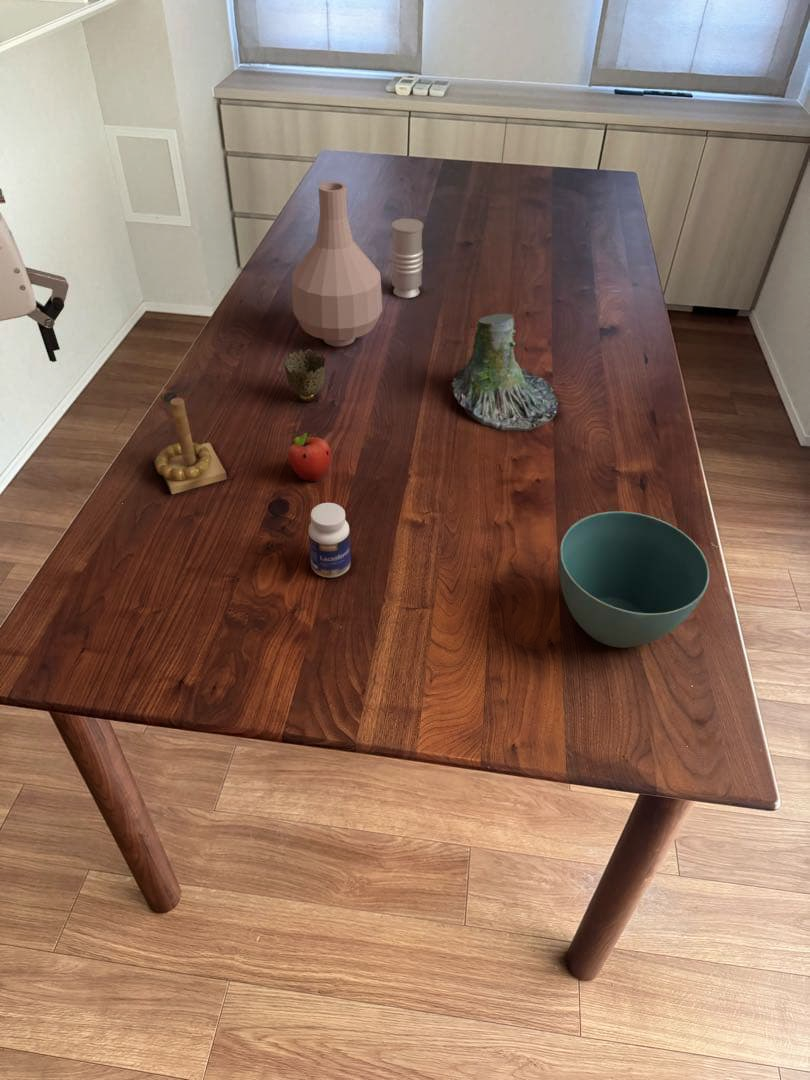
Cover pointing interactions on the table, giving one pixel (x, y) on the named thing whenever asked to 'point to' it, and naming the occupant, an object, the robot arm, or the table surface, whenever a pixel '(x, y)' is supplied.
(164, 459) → the ring
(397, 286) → the ribbed beige cylinder
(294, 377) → the cup
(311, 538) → the pill bottle
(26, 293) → the robot arm
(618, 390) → the table surface
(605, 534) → the teal bowl
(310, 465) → the apple
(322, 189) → the vase
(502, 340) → the tree stump
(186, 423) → the post stand
